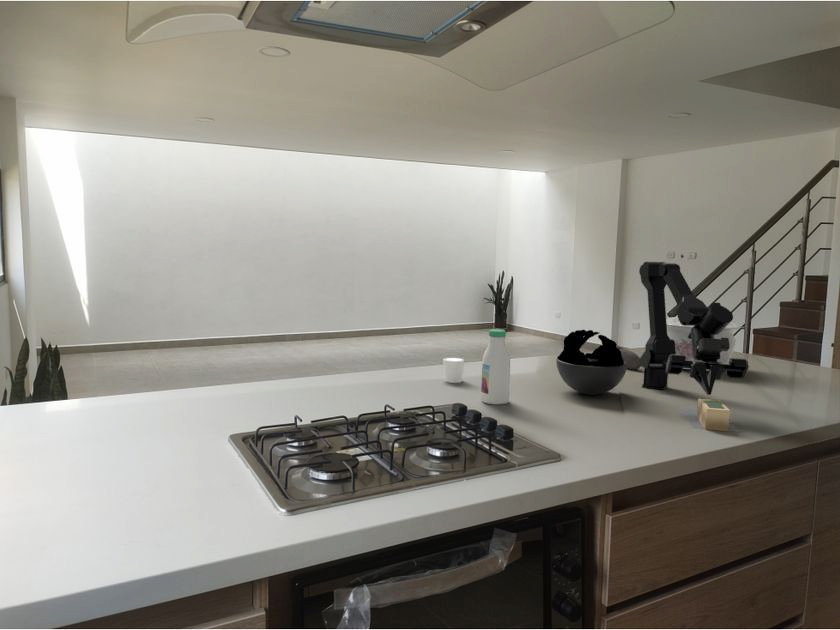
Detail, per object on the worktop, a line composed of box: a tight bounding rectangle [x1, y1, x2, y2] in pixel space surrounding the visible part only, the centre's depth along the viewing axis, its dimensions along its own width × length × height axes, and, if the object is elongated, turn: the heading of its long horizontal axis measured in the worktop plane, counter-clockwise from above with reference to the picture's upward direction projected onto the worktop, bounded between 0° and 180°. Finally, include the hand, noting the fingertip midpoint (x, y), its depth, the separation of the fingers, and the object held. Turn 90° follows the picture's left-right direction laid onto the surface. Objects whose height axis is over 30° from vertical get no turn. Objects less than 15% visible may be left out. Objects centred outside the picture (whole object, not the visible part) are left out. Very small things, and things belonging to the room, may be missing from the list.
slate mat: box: [681, 408, 740, 433], centre depth 147 cm, size 17×10×1 cm, turn 165°
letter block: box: [696, 398, 731, 432], centre depth 143 cm, size 5×5×10 cm
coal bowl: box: [555, 329, 628, 396], centre depth 172 cm, size 20×20×19 cm
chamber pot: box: [666, 316, 742, 373], centre depth 214 cm, size 28×28×21 cm
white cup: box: [442, 357, 465, 384], centre depth 186 cm, size 7×7×7 cm
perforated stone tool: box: [616, 346, 642, 371], centre depth 212 cm, size 15×5×7 cm, turn 24°
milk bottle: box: [480, 328, 511, 406], centre depth 161 cm, size 8×8×20 cm
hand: (709, 394), depth 148 cm, fingers closed
